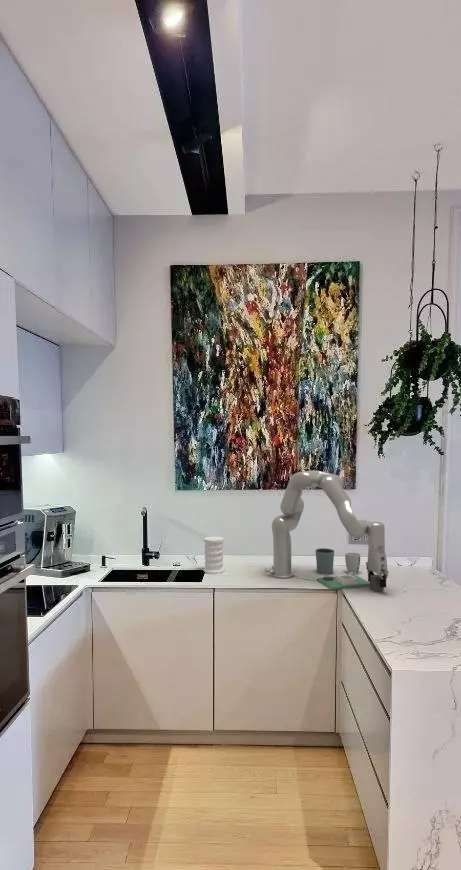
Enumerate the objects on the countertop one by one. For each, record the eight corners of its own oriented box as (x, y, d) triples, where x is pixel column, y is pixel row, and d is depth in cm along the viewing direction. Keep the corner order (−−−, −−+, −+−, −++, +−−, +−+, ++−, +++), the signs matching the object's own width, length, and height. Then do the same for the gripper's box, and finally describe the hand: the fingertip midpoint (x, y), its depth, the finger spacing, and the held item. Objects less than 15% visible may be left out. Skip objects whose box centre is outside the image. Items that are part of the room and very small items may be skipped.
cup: (361, 575, 252) (360, 556, 252) (345, 574, 254) (345, 555, 254) (360, 571, 260) (359, 552, 260) (344, 570, 262) (344, 552, 262)
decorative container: (199, 571, 260) (198, 538, 260) (213, 567, 269) (213, 535, 269) (214, 575, 253) (214, 541, 253) (228, 570, 262) (228, 538, 262)
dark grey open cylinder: (328, 569, 264) (328, 547, 264) (338, 574, 255) (338, 551, 255) (312, 571, 261) (312, 549, 261) (321, 575, 251) (321, 553, 251)
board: (331, 589, 228) (331, 582, 228) (316, 580, 243) (316, 573, 243) (372, 585, 234) (372, 578, 234) (354, 576, 249) (354, 569, 249)
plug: (375, 592, 224) (375, 577, 224) (369, 589, 228) (369, 574, 228) (384, 591, 225) (384, 576, 225) (379, 588, 230) (379, 573, 230)
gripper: (394, 551, 220) (394, 588, 219) (373, 544, 236) (373, 578, 236) (380, 552, 218) (380, 590, 217) (359, 545, 234) (360, 580, 234)
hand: (377, 584), depth 227 cm, fingers open, 9 cm apart
